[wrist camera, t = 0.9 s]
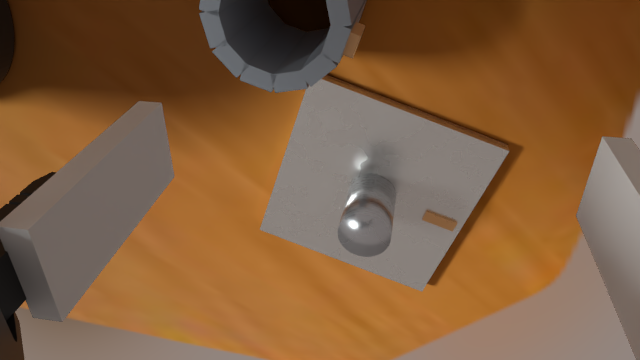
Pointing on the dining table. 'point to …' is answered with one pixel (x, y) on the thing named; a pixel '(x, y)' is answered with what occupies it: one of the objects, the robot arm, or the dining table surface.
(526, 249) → the dining table surface
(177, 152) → the dining table surface
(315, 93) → the square plate
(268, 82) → the sleeve
